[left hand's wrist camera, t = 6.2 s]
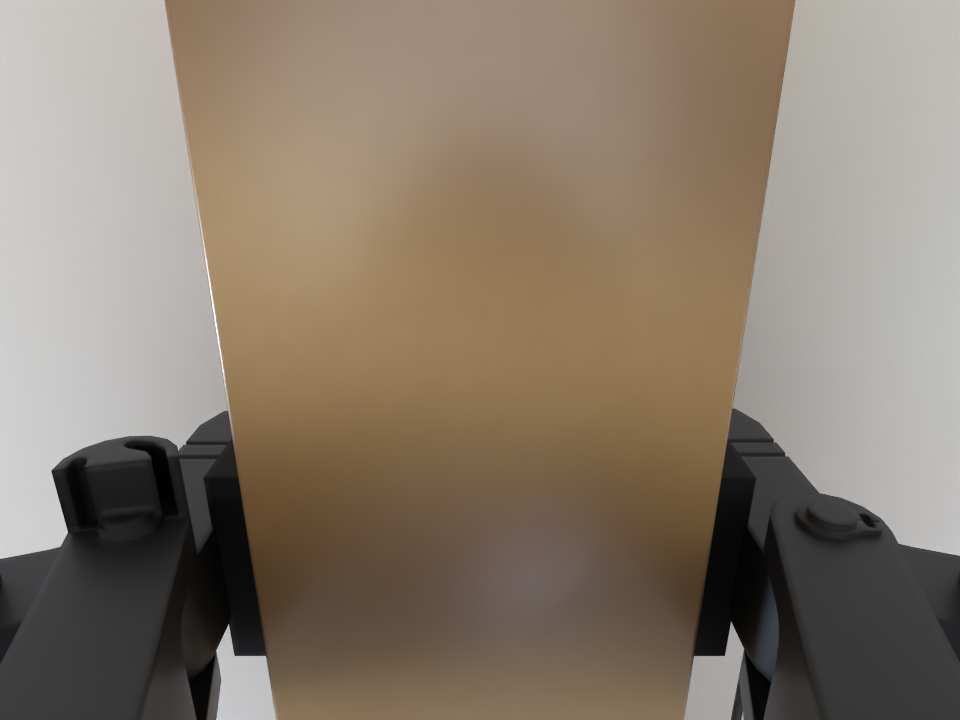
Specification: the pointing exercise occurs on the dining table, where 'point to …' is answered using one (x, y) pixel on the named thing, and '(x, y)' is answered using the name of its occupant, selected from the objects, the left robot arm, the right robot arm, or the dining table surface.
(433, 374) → the beam
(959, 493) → the dining table surface
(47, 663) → the left robot arm
